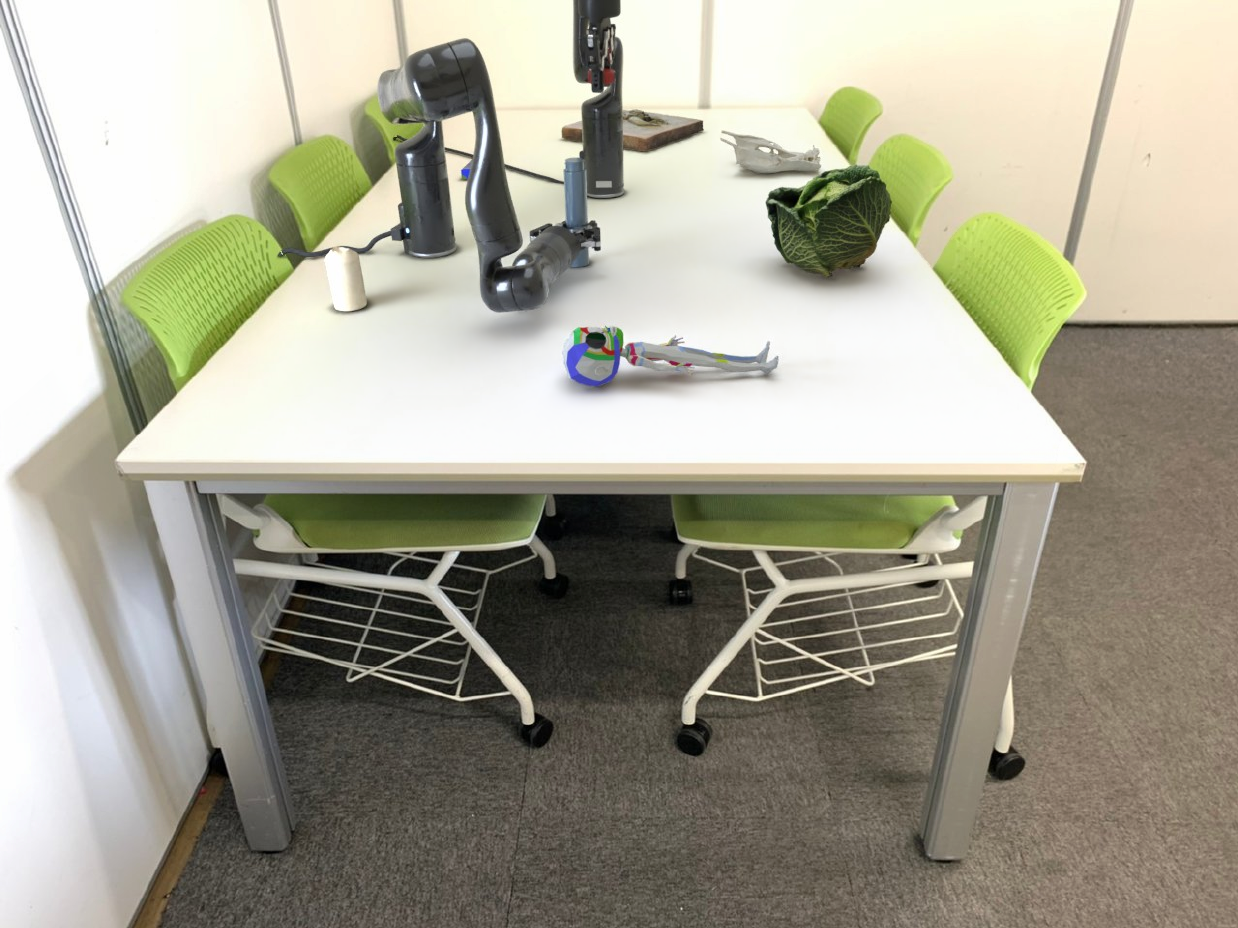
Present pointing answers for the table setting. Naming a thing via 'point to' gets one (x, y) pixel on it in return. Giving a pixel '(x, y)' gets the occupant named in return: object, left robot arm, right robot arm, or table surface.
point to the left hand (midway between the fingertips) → (581, 224)
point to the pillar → (466, 170)
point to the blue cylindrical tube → (576, 201)
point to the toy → (644, 356)
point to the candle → (345, 279)
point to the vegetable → (830, 219)
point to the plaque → (645, 129)
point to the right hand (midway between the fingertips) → (601, 89)
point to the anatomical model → (770, 155)
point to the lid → (607, 76)
